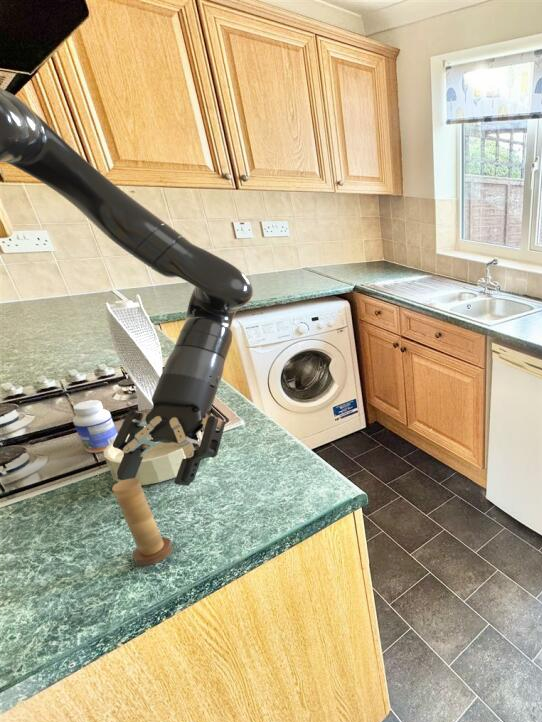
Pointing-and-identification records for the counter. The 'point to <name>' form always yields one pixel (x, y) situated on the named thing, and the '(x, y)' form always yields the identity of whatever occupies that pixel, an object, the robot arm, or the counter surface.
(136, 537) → the tan cylinder
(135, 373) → the skyscraper
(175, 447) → the bowl
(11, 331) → the counter surface
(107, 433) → the pill bottle
